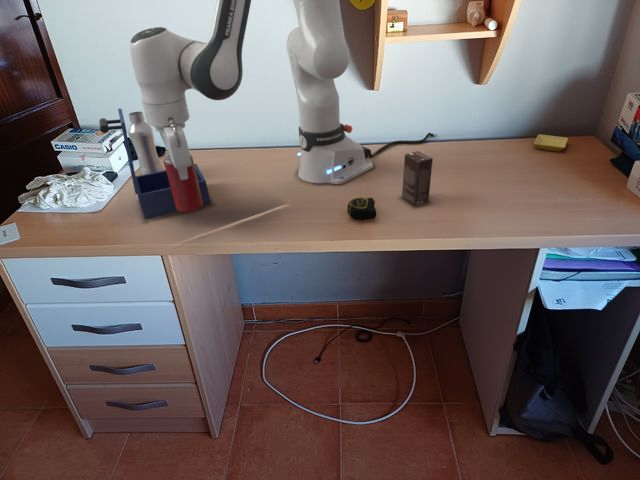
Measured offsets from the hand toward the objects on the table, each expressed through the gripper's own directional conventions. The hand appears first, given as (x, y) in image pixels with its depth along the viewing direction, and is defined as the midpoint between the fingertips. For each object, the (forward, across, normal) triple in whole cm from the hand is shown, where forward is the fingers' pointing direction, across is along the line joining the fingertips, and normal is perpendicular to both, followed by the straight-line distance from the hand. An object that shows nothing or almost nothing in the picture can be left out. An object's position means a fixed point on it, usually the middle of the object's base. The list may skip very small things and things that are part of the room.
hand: (181, 172), depth 103 cm
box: (+14, -17, -54) cm, 58 cm away
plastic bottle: (+14, +32, +6) cm, 35 cm away
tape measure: (+14, -17, -38) cm, 44 cm away
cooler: (+14, +13, +2) cm, 19 cm away
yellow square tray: (+13, -8, -109) cm, 110 cm away
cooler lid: (-3, +13, +10) cm, 16 cm away
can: (+9, 0, 0) cm, 9 cm away
